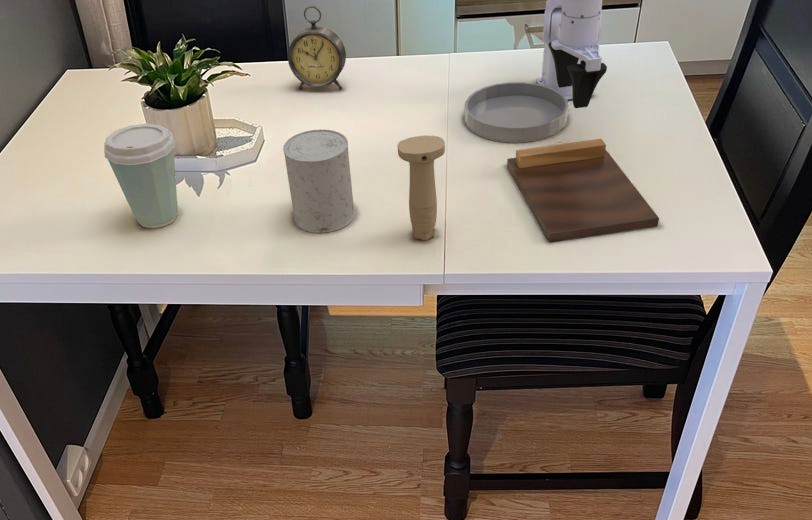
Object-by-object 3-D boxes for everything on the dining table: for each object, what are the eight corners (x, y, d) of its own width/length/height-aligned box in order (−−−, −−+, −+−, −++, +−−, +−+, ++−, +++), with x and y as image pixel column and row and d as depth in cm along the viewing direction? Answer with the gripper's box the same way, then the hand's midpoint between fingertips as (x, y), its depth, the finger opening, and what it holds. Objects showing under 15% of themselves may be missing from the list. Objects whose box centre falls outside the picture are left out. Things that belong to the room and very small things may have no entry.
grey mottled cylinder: (333, 239, 118) (324, 167, 110) (281, 223, 122) (269, 153, 114) (366, 207, 124) (360, 136, 116) (316, 193, 128) (307, 124, 120)
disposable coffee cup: (135, 201, 131) (110, 118, 121) (199, 198, 130) (178, 114, 120) (119, 238, 123) (90, 152, 113) (186, 235, 122) (164, 148, 112)
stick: (515, 162, 128) (516, 149, 126) (599, 150, 128) (601, 138, 127) (519, 168, 126) (519, 156, 124) (604, 156, 126) (606, 144, 125)
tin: (454, 103, 149) (454, 89, 147) (548, 90, 149) (549, 76, 148) (478, 148, 135) (478, 133, 133) (581, 134, 136) (582, 119, 134)
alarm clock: (291, 92, 158) (280, 11, 148) (299, 80, 162) (288, 0, 152) (344, 93, 156) (336, 11, 145) (350, 81, 160) (343, 0, 149)
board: (506, 166, 130) (507, 158, 129) (601, 153, 130) (602, 145, 129) (549, 242, 113) (549, 233, 112) (657, 226, 113) (659, 218, 112)
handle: (448, 241, 115) (447, 150, 105) (404, 247, 115) (400, 156, 105) (442, 223, 118) (441, 133, 109) (400, 229, 118) (395, 139, 109)
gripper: (540, -2, 123) (534, 80, 132) (571, 32, 112) (562, 119, 121) (584, -8, 123) (575, 75, 132) (619, 26, 112) (607, 113, 121)
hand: (572, 96), depth 127 cm, fingers open, 7 cm apart
